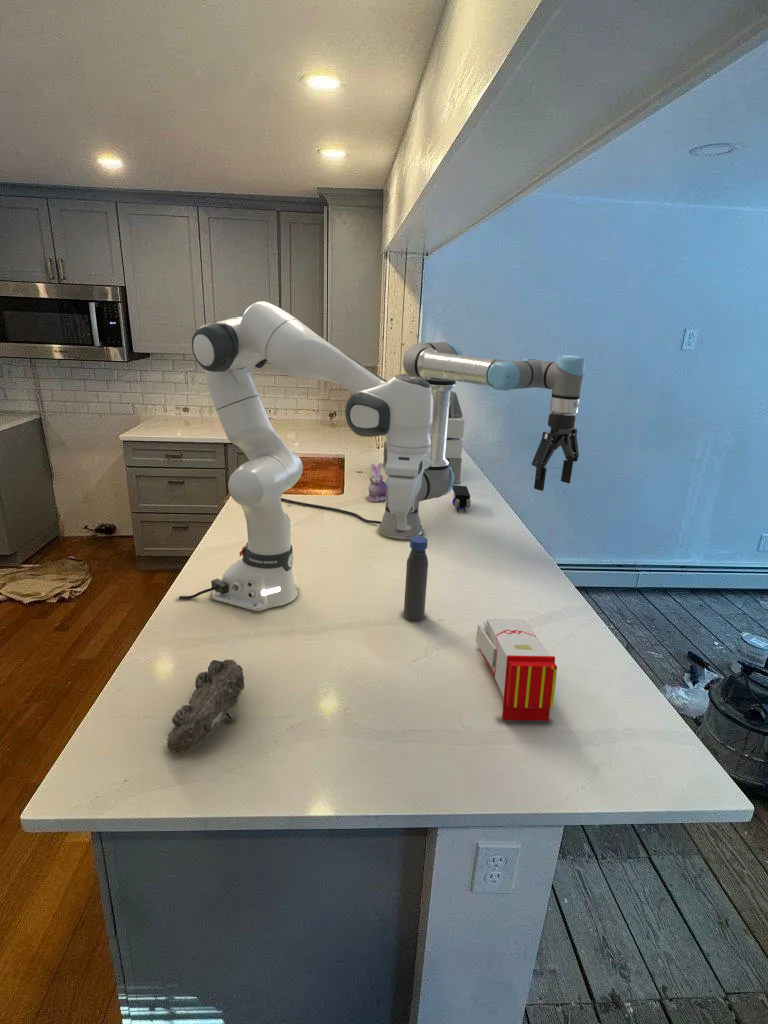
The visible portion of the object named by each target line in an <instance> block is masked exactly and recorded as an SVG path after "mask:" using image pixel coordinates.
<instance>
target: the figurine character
mask: <svg viewBox="0 0 768 1024" xmlns="http://www.w3.org/2000/svg"><path fill="white" fill-rule="evenodd" d="M452 490H453V494H452V501H451V503H452V504H453V507H454V508H456V511H457V512H460V510H463V511H464V513H466V512H467V509H470V508H471V505H472V504H471V501H472V500H471V494H470V491H469V488H468V486H467V485H456V484H453V487H452ZM466 508H467V509H466Z"/></svg>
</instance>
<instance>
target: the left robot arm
mask: <svg viewBox="0 0 768 1024" xmlns="http://www.w3.org/2000/svg"><path fill="white" fill-rule="evenodd" d="M191 351H192V354H193V356H194V359H195V361H196V362H197V363H198V365H199V366H200V367H201V368H202V369H204V370H205V378H206V383H207V387H208V392H209V395H210V398H211V401H212V404H213V407H214V409H215V411H216V414H217V417H218V418H219V419H218V420H219V421H220V423H221V426H222V429H223V430H224V431H223V432H224V433H225V436H226V438H227V440H228V441H229V442H230V443H231V444H233V445H235V446H237V447H238V448H239V449H240V450H241V451H242V452H243V454H244V455H245V456H246V457H247V459H248V461H246V462H243V463H242V464H241V465H239V466H238V467H237V468H236V469H235V470H234V471H233V473H231V475H230V476H229V479H228V483H227V487H228V492H229V494H230V497H231V498H232V500H233V501H234V502H235V503H237V504H238V505H239V506H241V509H242V511H243V513H244V516H245V522H246V530H247V532H246V533H247V542H246V544H245V545H244V546H243V547H242V548H241V550H240V551H239V553H238V554H239V556H238V557H241V556H242V557H241V558H240V559H239V560H237V561H235V562H234V563H233V564H231V565H230V566H229V567H228V568H227V569H226V570H225V571H224V573H223V574H222V577H221V579H220V578H215V579H212V580H211V581H210V582H211V583H210V584H211V587H209V588H207V589H203V590H201V591H198V592H196V593H194V594H192V595H179V596H178V599H179V600H190V599H195V598H196V597H199V596H201V595H203V594H206V593H209V592H212V599H213V600H214V601H217V602H221V603H225V604H228V605H232V606H236V607H240V608H243V609H246V610H251V611H254V612H263V611H266V610H268V609H271V608H278V607H281V606H285V605H287V604H290V603H291V602H293V601H294V600H296V598H297V597H298V594H299V593H298V589H297V587H296V583H295V579H294V573H293V565H294V552H293V545H292V531H291V530H292V527H291V525H292V524H291V523H292V522H291V518H290V516H289V515H288V514H287V513H285V512H284V508H283V505H282V500H281V498H282V494H284V493H285V492H287V491H289V490H290V489H292V488H293V487H295V485H296V484H297V483H298V481H299V480H300V479H301V477H302V475H303V471H304V466H303V461H302V459H301V458H300V456H299V455H298V454H297V453H296V452H295V451H293V450H291V449H290V448H288V446H286V444H285V443H284V441H283V440H282V439H281V438H280V436H279V434H278V433H277V432H276V430H275V429H274V426H273V424H272V423H271V421H270V419H269V416H268V414H267V412H266V409H265V406H264V404H263V402H262V400H261V396H260V395H259V392H258V389H257V387H256V385H255V382H254V380H253V371H254V368H256V369H257V368H258V369H262V368H263V367H264V366H265V365H266V364H267V362H268V363H269V364H271V365H272V367H274V368H275V369H277V370H278V371H280V372H281V373H284V374H286V375H287V376H289V377H290V378H291V377H292V378H293V379H299V380H315V381H316V380H317V381H325V382H331V383H334V384H337V385H339V386H341V387H343V388H345V389H346V390H347V391H349V392H351V393H352V395H351V396H349V398H348V400H347V402H346V404H345V409H344V414H345V415H344V416H345V421H346V423H347V425H348V428H349V429H350V430H351V431H352V432H353V433H354V435H357V436H359V437H362V438H363V437H364V438H374V437H380V436H383V437H385V438H386V437H387V461H386V465H385V466H384V468H385V469H384V474H385V475H386V476H387V475H389V476H388V504H389V510H390V513H391V514H396V519H397V529H398V530H405V529H406V526H407V520H406V518H407V515H412V514H413V512H414V504H415V498H416V496H417V494H418V492H419V490H420V488H421V485H422V475H423V471H424V470H425V469H427V468H429V466H430V454H431V439H430V428H431V425H432V420H433V395H432V389H431V386H430V384H429V382H427V381H426V380H425V379H423V378H421V377H418V376H414V375H408V374H407V373H399V374H395V375H393V377H391V378H390V379H389V380H387V379H385V378H383V377H382V376H380V375H378V374H377V373H376V372H375V371H372V370H370V369H369V368H368V367H367V366H365V365H363V364H362V363H361V362H359V361H357V360H356V359H354V358H353V357H351V356H350V355H348V354H346V353H345V352H343V351H342V350H341V349H339V348H337V347H336V346H335V345H333V344H331V343H329V342H328V341H327V340H325V339H324V338H323V337H321V336H320V335H319V334H317V333H316V332H315V331H313V330H312V329H311V328H309V327H308V326H307V325H305V324H304V323H302V321H301V320H299V319H297V317H295V316H294V315H292V314H290V313H289V312H288V311H286V310H284V309H283V308H280V307H279V306H278V305H277V306H276V305H275V304H273V303H271V302H267V301H256V302H254V303H252V304H251V305H249V306H248V307H247V308H246V310H244V312H243V314H242V316H235V317H230V318H228V319H223V320H220V321H217V322H209V323H206V324H203V325H202V326H200V327H198V328H197V329H196V330H195V331H194V332H193V334H192V337H191Z"/></svg>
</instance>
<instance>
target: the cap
mask: <svg viewBox="0 0 768 1024" xmlns="http://www.w3.org/2000/svg"><path fill="white" fill-rule="evenodd" d="M428 542H429V540H428V538H427V537H425V536H422V535H421V536H414V537H412V538H411V539H410V540H409V548H410V550H411V549H413V550H417V551H422V550H425V551H426V550H427V549H428V544H429V543H428Z"/></svg>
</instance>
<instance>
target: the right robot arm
mask: <svg viewBox="0 0 768 1024" xmlns="http://www.w3.org/2000/svg"><path fill="white" fill-rule="evenodd" d="M585 365H586V360H585V358H584V357H582V356H578V355H566V354H565V355H564V354H563V355H558V356H557V357H556V360H555V361H549V360H541V359H536V358H524V359H521V360H506V359H505V360H504V359H503V360H502V359H496V358H487V357H479V356H471V355H464V354H463V352H462V350H461V349H460V347H459V346H457V345H456V344H455V343H451V342H445V341H443V342H442V341H441V342H440V341H439V342H438V341H437V342H417V343H414V344H412V345H411V346H409V347H408V348H407V350H406V351H405V353H404V355H403V358H402V366H403V369H404V372H405V374H407V375H414V376H418V377H421V378H423V379H425V380H426V381H427V382H429V384H430V386H431V389H432V395H433V420H432V425H431V428H430V439H431V454H430V466H429V468H427V469H425V470H424V471H423V475H422V485H421V488H420V490H419V492H418V494H417V496H416V498H415V504H414V512H413V514H412V515H407V518H406V520H407V526H406V529H405V530H398V529H397V519H396V514H391V513H390V510H389V504H388V476H389V475H386V479H385V483H386V499H385V504H384V505H385V507H384V508H385V509H384V513H383V515H382V519H381V520H372V519H367V518H364V517H362V516H361V515H359V514H357V513H355V512H353V511H349V510H345V509H341V508H335V507H330V506H325V505H320V504H313V503H308V502H302V501H296V500H292V499H288V498H284V497H281V502H285V503H291V504H295V505H301V506H306V507H312V508H317V509H323V510H327V511H328V510H329V511H334V512H338V513H343V514H346V515H350V516H354V517H356V518H358V519H360V520H361V521H362V522H365V523H367V524H378V525H379V527H378V533H379V534H380V535H381V536H382V537H385V538H387V539H389V540H395V541H410V539H411V538H412V537H414V536H421V537H422V535H423V525H422V524H421V518H420V515H419V507H420V506H419V505H420V502H423V501H427V500H431V499H437V498H440V497H443V496H446V495H448V493H450V492H451V490H453V485H455V483H454V473H452V469H451V467H450V466H449V462H448V461H447V459H446V458H445V453H446V441H447V428H448V416H449V404H450V392H451V391H452V389H453V388H454V387H455V386H456V384H457V382H461V383H465V384H473V385H479V386H487V387H491V388H492V389H494V390H496V391H503V392H504V391H511V390H520V389H532V388H533V389H534V388H539V389H546V390H551V398H550V404H549V413H548V418H547V419H548V420H547V426H548V427H549V428H550V431H549V432H548V431H543V432H542V435H541V440H540V442H539V445H538V447H537V449H536V452H535V454H534V457H533V460H532V461H531V466H533V467H535V475H534V477H535V478H534V485H533V489H534V490H537V491H539V492H543V491H544V489H545V484H546V483H545V482H546V476H547V468H546V466H547V465H548V463H549V461H550V459H551V457H552V456H553V454H554V453H555V451H556V450H557V449H558V448H560V447H561V449H562V452H563V455H564V458H565V459H563V463H562V468H561V469H562V470H561V475H560V482H562V483H566V484H571V478H572V472H573V466H574V463H576V462H578V461H579V457H580V453H579V444H578V428H576V423H577V419H578V416H577V414H578V412H579V411H578V410H579V406H580V397H581V391H582V385H583V380H584V376H585Z"/></svg>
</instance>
